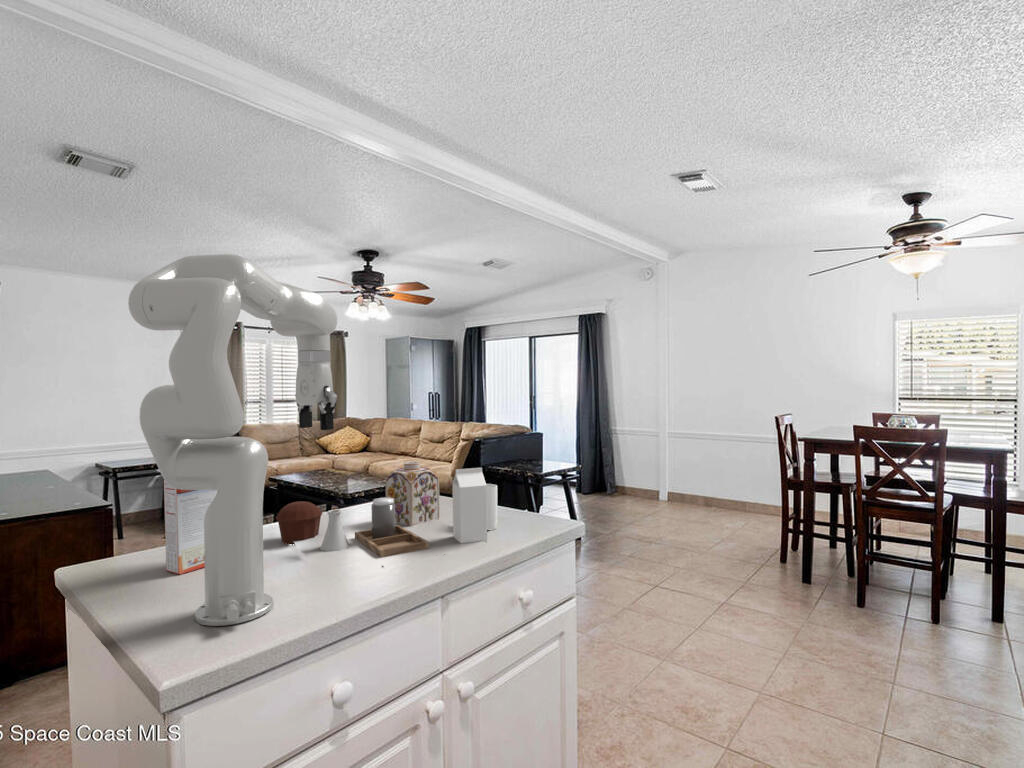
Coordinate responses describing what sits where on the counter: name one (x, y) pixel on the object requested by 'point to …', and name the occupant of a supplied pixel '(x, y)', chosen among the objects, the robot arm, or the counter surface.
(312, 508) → the muffin
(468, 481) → the milk carton
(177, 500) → the cracker box
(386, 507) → the pepper shaker
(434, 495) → the decorative jar
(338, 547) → the flask
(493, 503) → the mug
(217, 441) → the robot arm
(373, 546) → the caddy
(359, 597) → the counter surface
